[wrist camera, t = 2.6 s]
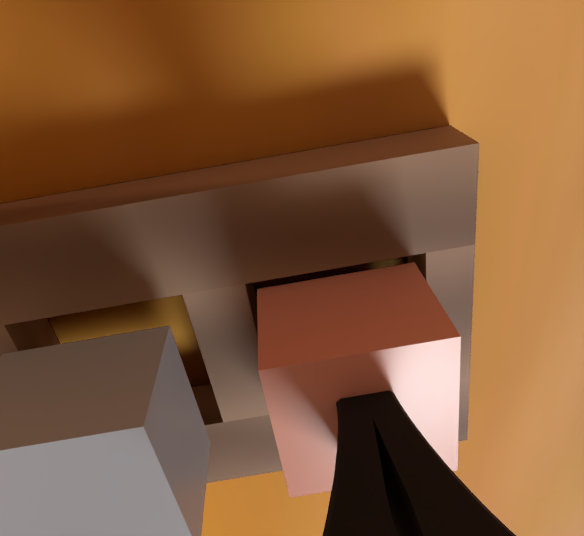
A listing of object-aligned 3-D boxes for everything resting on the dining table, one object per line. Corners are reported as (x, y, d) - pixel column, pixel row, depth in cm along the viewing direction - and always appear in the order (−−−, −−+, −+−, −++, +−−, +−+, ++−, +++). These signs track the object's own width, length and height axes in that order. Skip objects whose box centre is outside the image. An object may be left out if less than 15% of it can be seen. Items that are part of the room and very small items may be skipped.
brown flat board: (447, 400, 19) (466, 439, 17) (-86, 489, 19) (-119, 536, 18) (450, 125, 14) (479, 142, 12) (-289, 254, 14) (-365, 289, 12)
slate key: (210, 441, 15) (199, 552, 12) (68, 465, 15) (21, 582, 12) (169, 325, 13) (143, 426, 10) (2, 354, 13) (-76, 463, 10)
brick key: (418, 380, 16) (456, 469, 13) (283, 403, 16) (289, 497, 13) (414, 262, 14) (461, 336, 11) (257, 288, 14) (258, 370, 11)
